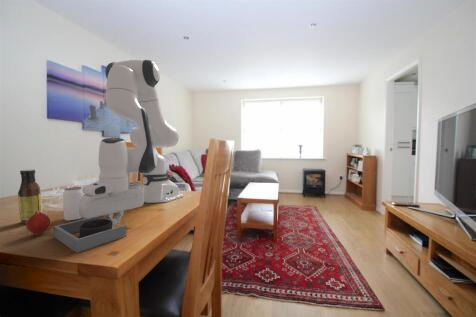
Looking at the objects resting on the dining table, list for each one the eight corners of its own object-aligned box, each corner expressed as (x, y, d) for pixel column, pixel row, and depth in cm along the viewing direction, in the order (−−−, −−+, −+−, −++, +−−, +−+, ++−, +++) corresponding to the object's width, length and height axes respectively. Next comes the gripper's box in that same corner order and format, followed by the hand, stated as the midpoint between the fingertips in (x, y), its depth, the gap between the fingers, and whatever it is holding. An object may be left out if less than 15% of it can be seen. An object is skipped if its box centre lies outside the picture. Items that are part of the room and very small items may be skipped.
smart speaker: (114, 228, 77) (114, 217, 77) (108, 238, 69) (108, 226, 69) (85, 231, 75) (84, 219, 74) (74, 242, 66) (74, 229, 66)
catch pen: (100, 224, 81) (100, 215, 81) (126, 236, 71) (126, 225, 71) (54, 237, 70) (53, 226, 70) (76, 252, 60) (76, 240, 60)
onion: (30, 233, 73) (29, 209, 72) (52, 230, 75) (51, 207, 75) (24, 240, 67) (22, 214, 67) (48, 236, 70) (47, 211, 70)
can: (73, 221, 84) (72, 190, 83) (59, 220, 85) (58, 189, 85) (88, 216, 90) (87, 187, 90) (74, 215, 92) (73, 186, 91)
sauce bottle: (32, 218, 87) (30, 168, 86) (47, 219, 86) (45, 168, 85) (14, 224, 80) (11, 170, 79) (29, 225, 80) (27, 170, 79)
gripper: (137, 180, 86) (138, 215, 87) (76, 188, 69) (77, 231, 70) (147, 182, 82) (147, 218, 83) (85, 191, 65) (86, 236, 66)
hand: (115, 224), depth 76 cm, fingers closed
